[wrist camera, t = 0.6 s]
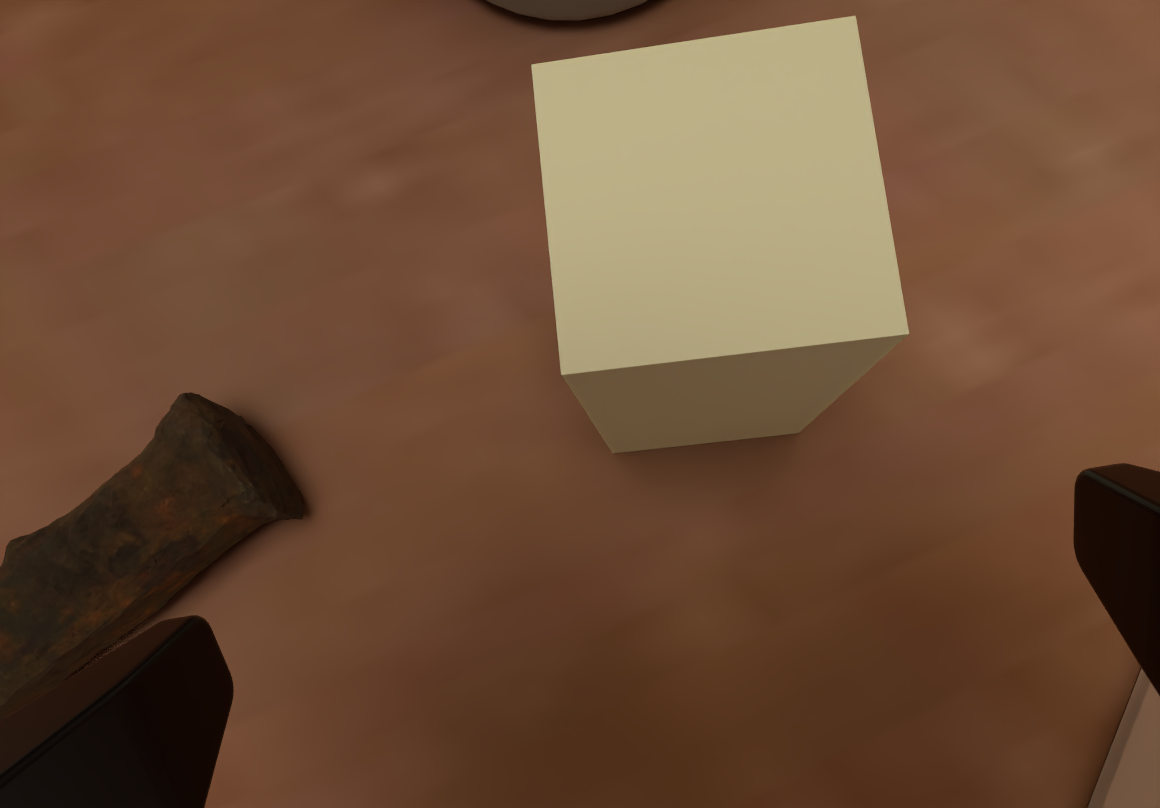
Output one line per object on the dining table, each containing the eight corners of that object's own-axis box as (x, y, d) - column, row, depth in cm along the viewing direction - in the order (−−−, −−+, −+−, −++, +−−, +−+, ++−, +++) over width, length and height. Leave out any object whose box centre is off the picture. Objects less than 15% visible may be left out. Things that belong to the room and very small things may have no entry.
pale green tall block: (798, 433, 23) (909, 333, 12) (612, 453, 24) (560, 374, 13) (773, 254, 24) (855, 15, 13) (594, 277, 24) (531, 64, 14)
